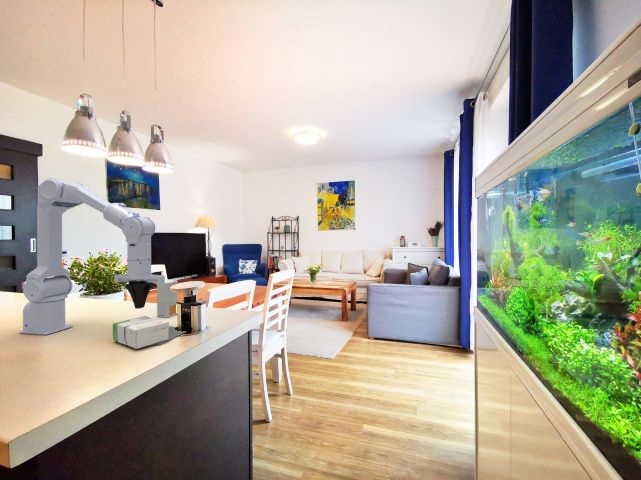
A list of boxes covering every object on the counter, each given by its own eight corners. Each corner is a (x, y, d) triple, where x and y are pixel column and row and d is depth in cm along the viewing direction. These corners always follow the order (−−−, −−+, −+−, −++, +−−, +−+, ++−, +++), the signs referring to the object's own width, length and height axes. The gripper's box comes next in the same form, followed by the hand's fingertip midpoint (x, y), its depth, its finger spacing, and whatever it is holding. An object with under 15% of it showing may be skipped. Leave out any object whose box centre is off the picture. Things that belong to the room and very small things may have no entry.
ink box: (112, 341, 79) (135, 350, 72) (112, 322, 79) (135, 329, 72) (146, 332, 86) (170, 340, 80) (146, 314, 86) (169, 321, 80)
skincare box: (168, 318, 102) (168, 282, 102) (156, 317, 102) (156, 282, 102) (178, 313, 108) (178, 280, 108) (166, 313, 108) (166, 279, 108)
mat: (119, 342, 79) (119, 341, 79) (157, 326, 93) (157, 325, 93) (160, 345, 77) (160, 344, 77) (193, 328, 90) (193, 327, 90)
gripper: (171, 259, 88) (172, 305, 88) (128, 258, 91) (128, 303, 91) (154, 261, 81) (154, 311, 81) (108, 260, 84) (108, 309, 84)
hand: (139, 307), depth 86 cm, fingers closed
